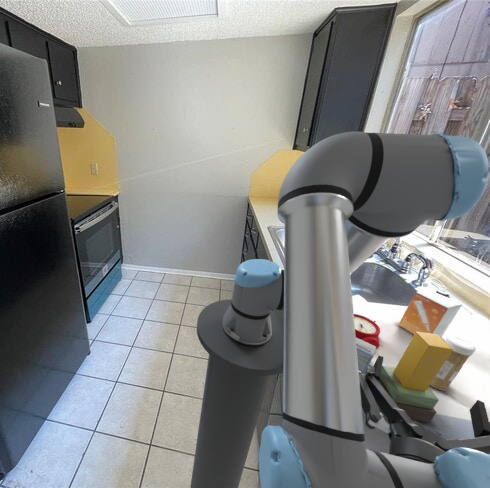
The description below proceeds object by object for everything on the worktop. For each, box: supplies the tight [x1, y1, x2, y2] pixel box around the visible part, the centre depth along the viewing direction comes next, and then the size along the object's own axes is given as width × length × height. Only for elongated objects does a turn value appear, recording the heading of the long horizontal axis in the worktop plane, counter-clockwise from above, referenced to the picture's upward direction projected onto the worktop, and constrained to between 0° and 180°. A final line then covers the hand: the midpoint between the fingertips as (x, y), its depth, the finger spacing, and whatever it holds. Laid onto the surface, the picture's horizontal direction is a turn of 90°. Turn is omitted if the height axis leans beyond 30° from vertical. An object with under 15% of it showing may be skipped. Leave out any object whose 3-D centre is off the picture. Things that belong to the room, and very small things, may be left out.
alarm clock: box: [354, 313, 381, 350], centre depth 76 cm, size 10×6×15 cm
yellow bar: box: [394, 331, 453, 392], centre depth 54 cm, size 4×4×12 cm
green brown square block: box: [378, 364, 440, 424], centre depth 58 cm, size 8×8×6 cm
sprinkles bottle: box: [430, 334, 477, 391], centre depth 61 cm, size 5×5×14 cm
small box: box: [398, 288, 463, 338], centre depth 77 cm, size 8×6×13 cm
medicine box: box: [356, 338, 377, 374], centre depth 65 cm, size 8×4×9 cm, turn 44°
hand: (423, 381), depth 48 cm, fingers open, 13 cm apart
